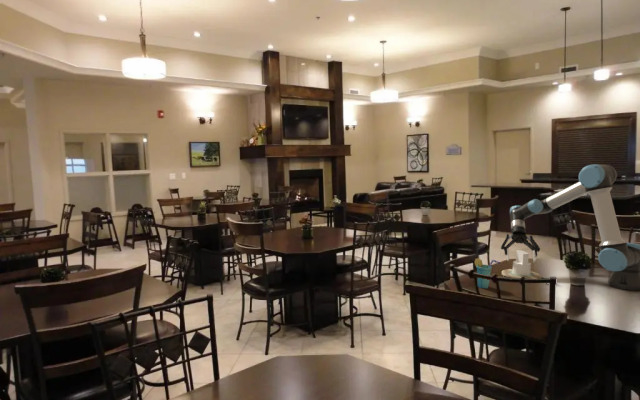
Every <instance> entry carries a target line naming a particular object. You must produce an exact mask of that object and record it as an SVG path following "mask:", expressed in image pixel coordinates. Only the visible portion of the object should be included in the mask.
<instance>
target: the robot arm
mask: <svg viewBox="0 0 640 400" xmlns="http://www.w3.org/2000/svg"><path fill="white" fill-rule="evenodd" d="M617 177H618V173H617V171H616V169H615V168H614V167H613V166H611V165H609V164H603V163H601V164H597V163H595V164H594V163H593V164H587V165H586V166H584V167H582V169H580V171H579V173H578V181H577V182H575V183H574V184H572V185H569V186H567V187H566V188H563V189H561V190H560V191H558V192H556V193H554V194H551V195H550V196H548V197H545V198H544V199H543V200H539V199H537V198H534V199H531V200H530V201H528V202H526V203H524V204H522V205H517V204H516V205H513V206H511V207H510V208H509V219H510V231H511V235H510V234H509V233H507V234H506V236H505V239H504V241H503V243H502V244H501V246H500V249H501V250H503V251H504V255H505V256H506V261H510V250H509V248H510V247H512V246H513V245H514V244H515V243H516V244H522V245H523V244H524V245H525V246H527V248H529V250H531V251H532V252H531V253H532V259H533V261H532V262H533V263H536V262H537V257H538V253H539V252H540V250H541V248H540V246H539V245H538V244H537V242H536V241H535V239H534V237H533V235H529V236H527V232H526V223H525V222H526V221H525V220H526V219H528V218H530V217H532V216H534V215H543V214H544V215H545V214H548V213H551V212H552V211H553V210H555V209H557V208H559V207H561V206H563V205H565V204H567V203H569V202H572V201H573V200H576V199H579V198H581V197H582V196H584V195H586V194H587V195H589V196H590V200H591V204H592V208H593V212H594V216H595V219H596V224H597V228H598V232H599V236H600V239H601V242H600V243H599V245H598V246H599V253H598V257H597V259H598V262H599V264H600V265H601V267H602V268H603V269H605V270H607V271H610V272H611V274H610V276H609V278H608V282H607V284H608V285H609V286H611V287H613V288H617V289H620V290H625V289H628V290H627V291H634V290H639V289H640V243H632V242H628V241H626V240H625V239H623V237H622V235H621V230H620V226H619V223H618V219H617V215H616V211H615V206H614V203H613V199H612V196H611V191H612V189H613V184H614V182H616V179H617ZM510 239H511V241H510V242H509V243H508V241H509V240H510ZM639 291H640V290H639Z"/></svg>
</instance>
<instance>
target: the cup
mask: <svg viewBox="0 0 640 400" xmlns="http://www.w3.org/2000/svg"><path fill="white" fill-rule="evenodd" d="M493 263H497V264H500V263H501V262H500V261H498V260H495V259H492V260H491V261H490V264H489V265H488V264H483V261H482V259H481V258H479V257H477V258H475V259H474V266H475V267H476V274H477V273H479V274H483V275H489V276H490V277H491V273H492V268H493V267H492V265H493ZM476 278H477V277H476ZM489 284H490V280H487V279H482V278H477V287H478V288H479V289H489Z"/></svg>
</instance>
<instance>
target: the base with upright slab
mask: <svg viewBox="0 0 640 400" xmlns="http://www.w3.org/2000/svg"><path fill="white" fill-rule="evenodd" d="M515 255H516V256H515V260H513V261H512V269H513V272H512V273H514V274H517V275H530V271H531V269H532V268H531V267H532V266H531V265H532V263H531V262H530V261H529V259H530V254H529V253H528V252H526V251H524V250H520V249H518V250H516V254H515Z"/></svg>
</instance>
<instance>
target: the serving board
mask: <svg viewBox="0 0 640 400" xmlns="http://www.w3.org/2000/svg"><path fill="white" fill-rule="evenodd" d="M512 272H513V268H507V269H503V270H501V276H502V275H503V276H502V277H504V276H506V277H511V278H521V277H525V278H528V279H541V280H542V274H540V273H538V272H536V271H532V270H530V275H517V274H514V273H512ZM506 277H505V278H506Z"/></svg>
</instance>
